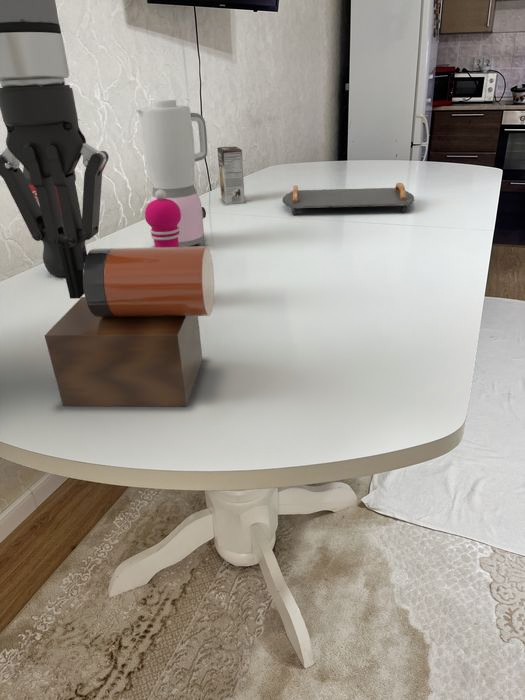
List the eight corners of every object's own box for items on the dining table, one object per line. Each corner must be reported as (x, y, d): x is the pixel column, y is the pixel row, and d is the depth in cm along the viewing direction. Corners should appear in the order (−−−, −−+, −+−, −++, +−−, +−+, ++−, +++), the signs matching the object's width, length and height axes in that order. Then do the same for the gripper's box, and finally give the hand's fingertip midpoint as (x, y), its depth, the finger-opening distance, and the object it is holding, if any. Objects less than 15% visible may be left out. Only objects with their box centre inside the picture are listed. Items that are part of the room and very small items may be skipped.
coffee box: (220, 198, 174) (216, 147, 167) (239, 197, 175) (236, 145, 168) (225, 204, 166) (221, 150, 159) (245, 202, 167) (242, 149, 160)
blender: (165, 255, 121) (145, 102, 106) (147, 243, 130) (126, 101, 115) (225, 243, 128) (215, 98, 113) (204, 232, 137) (192, 97, 122)
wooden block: (62, 406, 66) (44, 335, 62) (95, 360, 77) (81, 296, 72) (186, 406, 65) (177, 334, 61) (202, 359, 76) (195, 295, 71)
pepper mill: (146, 303, 96) (128, 191, 87) (176, 291, 100) (163, 183, 91) (170, 312, 91) (155, 195, 82) (201, 300, 96) (190, 188, 87)
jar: (91, 328, 63) (76, 261, 59) (113, 301, 70) (102, 240, 67) (206, 327, 62) (199, 258, 58) (216, 300, 69) (211, 237, 65)
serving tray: (281, 217, 149) (280, 194, 146) (283, 199, 169) (283, 179, 166) (420, 213, 146) (422, 191, 143) (405, 196, 166) (407, 176, 163)
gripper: (104, 80, 57) (137, 283, 68) (-7, 85, 58) (42, 284, 69) (79, 81, 51) (119, 305, 62) (-46, 86, 52) (15, 306, 63)
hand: (79, 294), depth 66 cm, fingers closed
